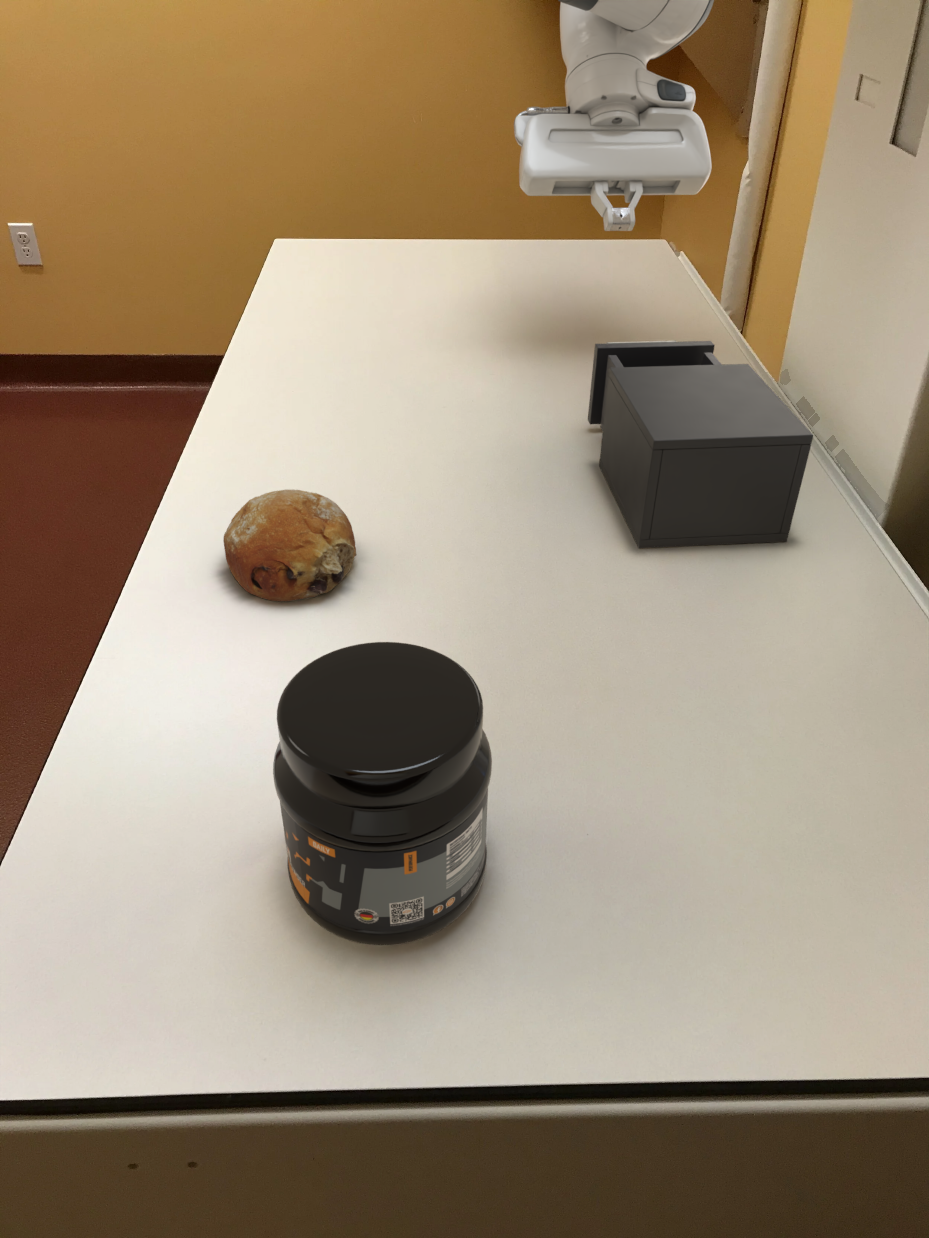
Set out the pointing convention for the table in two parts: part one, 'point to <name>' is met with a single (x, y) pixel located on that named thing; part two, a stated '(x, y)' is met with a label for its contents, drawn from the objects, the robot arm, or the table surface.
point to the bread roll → (289, 545)
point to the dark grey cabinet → (701, 455)
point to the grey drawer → (640, 364)
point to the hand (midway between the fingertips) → (619, 228)
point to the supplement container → (383, 791)
